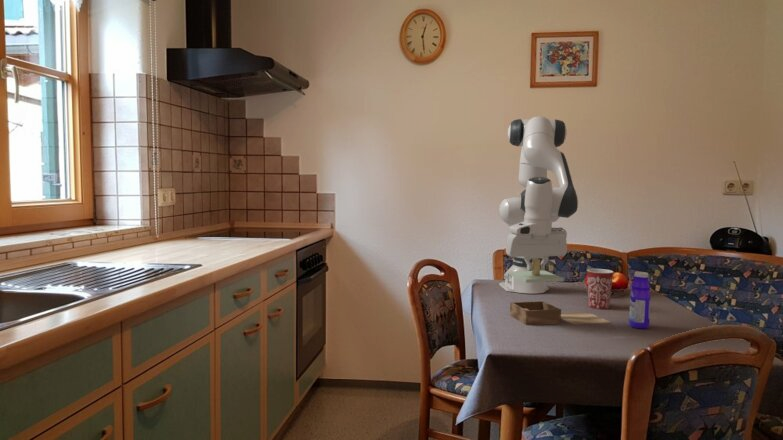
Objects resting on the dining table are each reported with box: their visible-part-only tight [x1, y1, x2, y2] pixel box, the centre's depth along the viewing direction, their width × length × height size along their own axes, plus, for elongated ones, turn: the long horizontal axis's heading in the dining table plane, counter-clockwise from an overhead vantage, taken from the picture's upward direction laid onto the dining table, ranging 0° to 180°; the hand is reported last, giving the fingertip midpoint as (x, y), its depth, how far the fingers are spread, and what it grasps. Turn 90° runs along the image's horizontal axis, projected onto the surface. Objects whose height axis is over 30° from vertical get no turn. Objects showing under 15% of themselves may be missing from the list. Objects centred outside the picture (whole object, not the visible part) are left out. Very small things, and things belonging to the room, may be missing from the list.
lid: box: [509, 259, 565, 283], centre depth 181 cm, size 13×13×6 cm
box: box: [509, 300, 562, 326], centre depth 182 cm, size 12×12×5 cm
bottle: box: [628, 271, 652, 329], centre depth 176 cm, size 7×6×17 cm
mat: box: [561, 311, 613, 325], centre depth 185 cm, size 14×14×1 cm
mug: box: [587, 268, 615, 310], centre depth 205 cm, size 13×9×14 cm
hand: (535, 269), depth 181 cm, fingers closed on lid, 3 cm apart
